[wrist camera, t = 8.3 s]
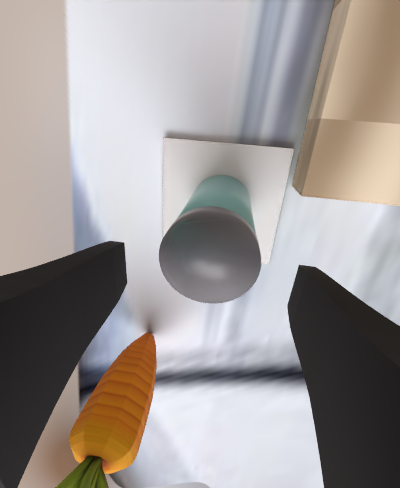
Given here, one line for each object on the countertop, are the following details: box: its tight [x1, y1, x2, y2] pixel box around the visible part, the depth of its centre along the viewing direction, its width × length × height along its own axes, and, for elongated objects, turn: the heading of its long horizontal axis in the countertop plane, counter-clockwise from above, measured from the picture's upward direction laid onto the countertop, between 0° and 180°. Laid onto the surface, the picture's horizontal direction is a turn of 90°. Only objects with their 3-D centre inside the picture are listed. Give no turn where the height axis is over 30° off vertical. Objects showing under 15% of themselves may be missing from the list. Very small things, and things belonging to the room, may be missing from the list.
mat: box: [163, 138, 294, 264], centre depth 19 cm, size 9×9×1 cm
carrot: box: [56, 333, 157, 488], centre depth 20 cm, size 5×5×15 cm
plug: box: [159, 175, 261, 303], centre depth 15 cm, size 4×4×9 cm
